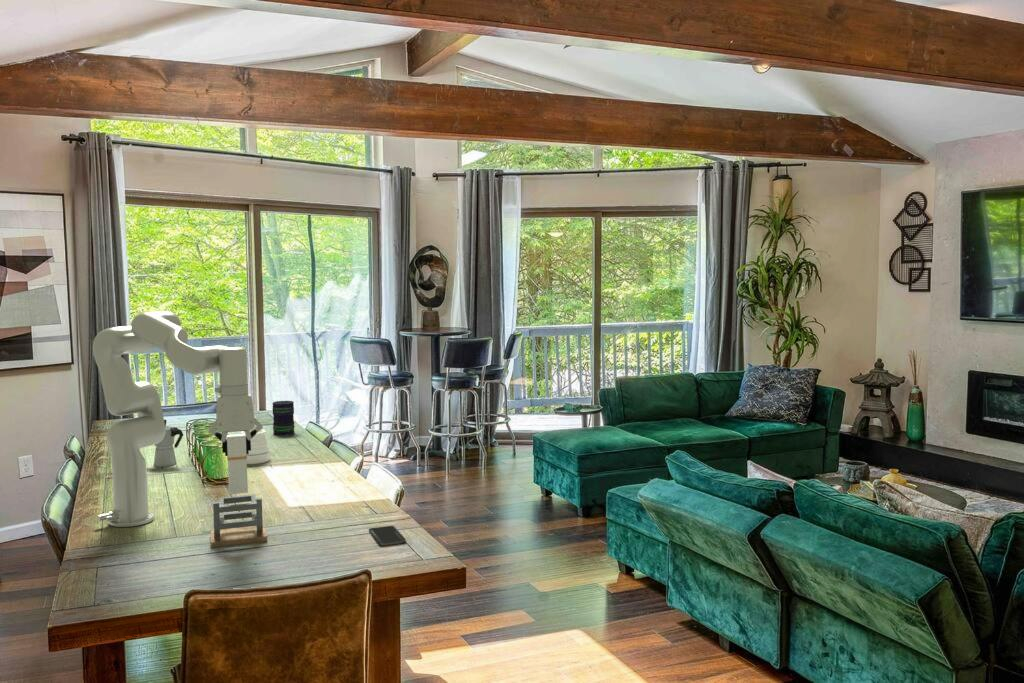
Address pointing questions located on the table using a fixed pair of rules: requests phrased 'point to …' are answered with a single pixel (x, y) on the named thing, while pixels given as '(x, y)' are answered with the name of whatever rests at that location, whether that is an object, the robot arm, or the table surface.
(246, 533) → the collar rack
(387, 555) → the table surface
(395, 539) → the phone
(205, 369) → the robot arm
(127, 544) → the table surface
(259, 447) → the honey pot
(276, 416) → the storage jar
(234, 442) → the white block
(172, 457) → the coffee maker
